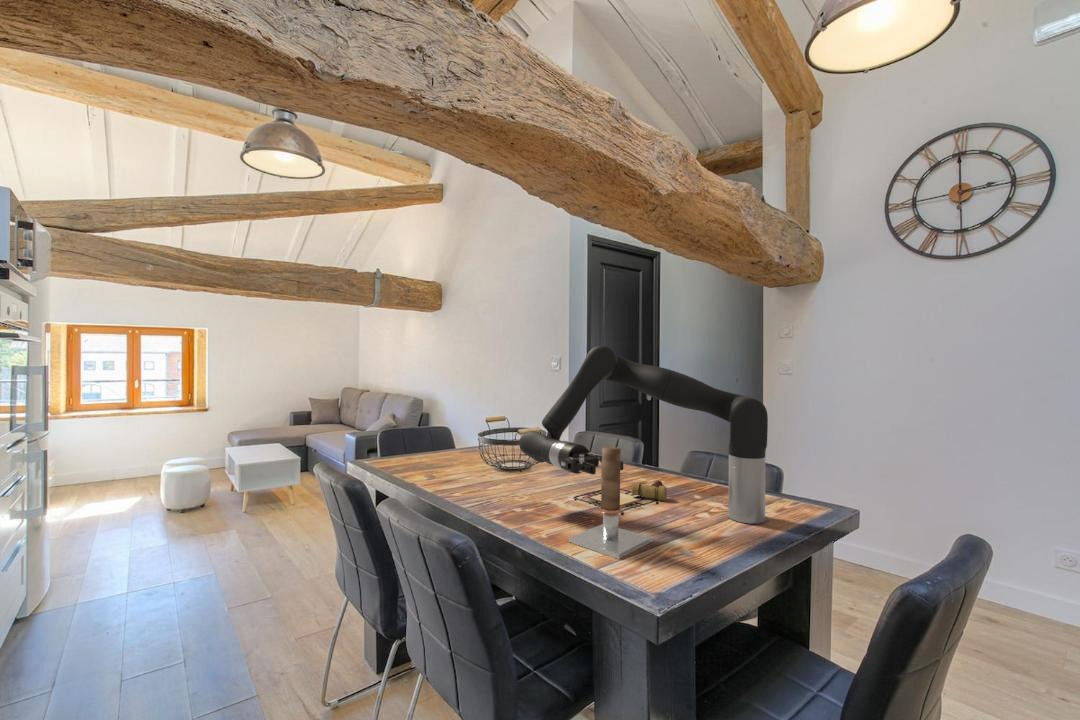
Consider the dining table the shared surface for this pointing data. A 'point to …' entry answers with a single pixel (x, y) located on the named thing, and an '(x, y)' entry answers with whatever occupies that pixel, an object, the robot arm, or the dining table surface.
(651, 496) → the olive strapped bedroll
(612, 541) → the steel post
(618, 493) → the walnut dowel
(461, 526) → the dining table surface
